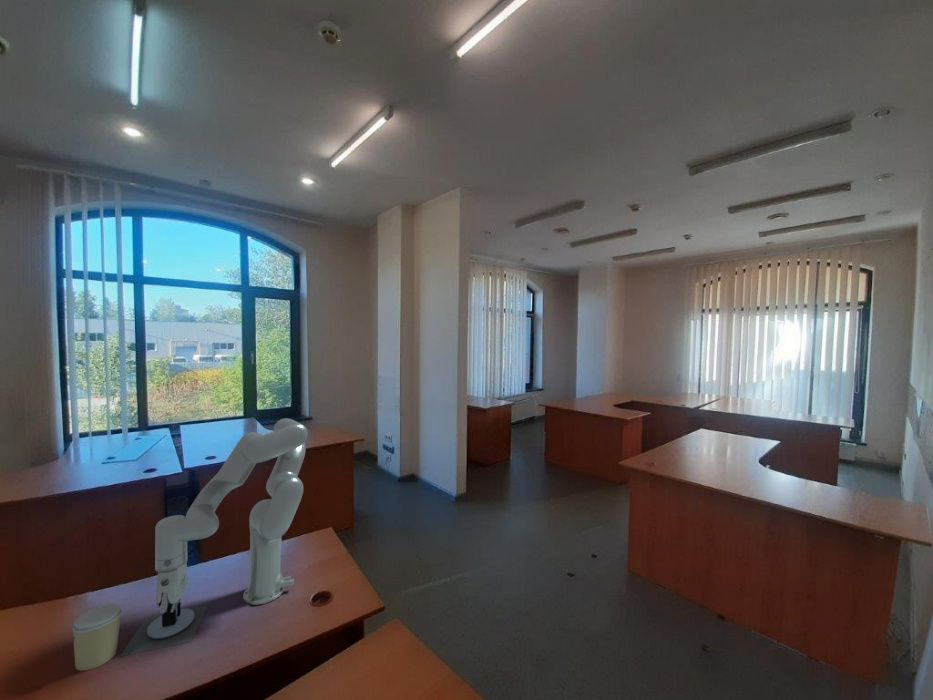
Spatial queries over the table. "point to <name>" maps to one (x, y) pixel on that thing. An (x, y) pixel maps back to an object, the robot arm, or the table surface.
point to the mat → (145, 643)
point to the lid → (181, 623)
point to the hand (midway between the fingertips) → (171, 620)
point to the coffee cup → (96, 636)
